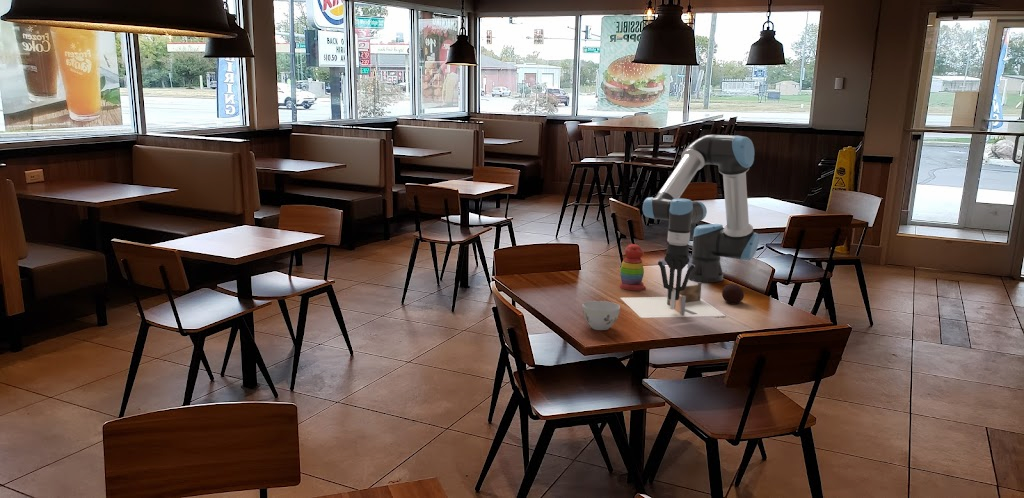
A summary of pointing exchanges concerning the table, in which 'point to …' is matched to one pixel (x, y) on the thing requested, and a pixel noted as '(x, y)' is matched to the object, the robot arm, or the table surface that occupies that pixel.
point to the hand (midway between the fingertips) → (672, 308)
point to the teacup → (600, 314)
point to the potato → (733, 293)
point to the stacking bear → (632, 269)
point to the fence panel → (680, 304)
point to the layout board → (660, 308)
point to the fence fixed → (690, 293)
